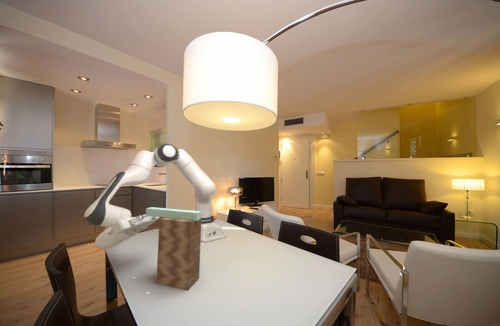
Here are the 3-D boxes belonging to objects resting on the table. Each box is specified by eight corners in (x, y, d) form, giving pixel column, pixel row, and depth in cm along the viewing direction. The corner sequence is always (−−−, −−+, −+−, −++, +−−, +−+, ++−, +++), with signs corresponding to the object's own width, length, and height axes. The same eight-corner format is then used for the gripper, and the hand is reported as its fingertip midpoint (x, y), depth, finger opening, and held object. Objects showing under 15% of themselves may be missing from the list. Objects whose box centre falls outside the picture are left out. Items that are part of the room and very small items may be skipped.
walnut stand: (156, 283, 73) (159, 218, 74) (170, 273, 80) (172, 214, 81) (188, 290, 69) (190, 222, 70) (199, 278, 77) (201, 217, 78)
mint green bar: (145, 215, 78) (146, 208, 79) (151, 214, 81) (151, 207, 81) (196, 220, 72) (197, 212, 72) (200, 218, 75) (200, 211, 75)
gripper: (101, 228, 73) (126, 212, 70) (143, 216, 93) (164, 203, 90) (106, 243, 72) (132, 228, 69) (148, 227, 92) (169, 215, 89)
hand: (151, 214), depth 80 cm, fingers open, 8 cm apart
